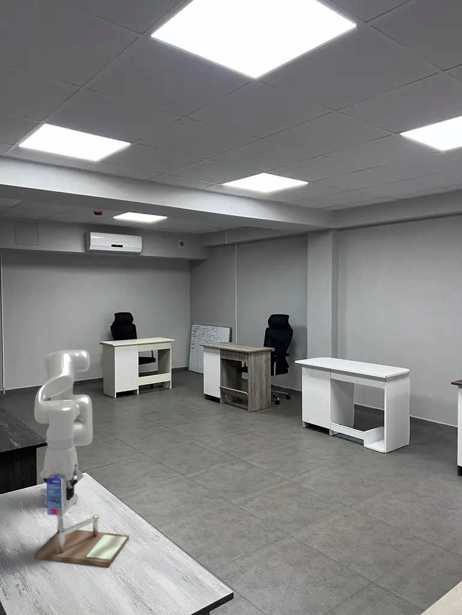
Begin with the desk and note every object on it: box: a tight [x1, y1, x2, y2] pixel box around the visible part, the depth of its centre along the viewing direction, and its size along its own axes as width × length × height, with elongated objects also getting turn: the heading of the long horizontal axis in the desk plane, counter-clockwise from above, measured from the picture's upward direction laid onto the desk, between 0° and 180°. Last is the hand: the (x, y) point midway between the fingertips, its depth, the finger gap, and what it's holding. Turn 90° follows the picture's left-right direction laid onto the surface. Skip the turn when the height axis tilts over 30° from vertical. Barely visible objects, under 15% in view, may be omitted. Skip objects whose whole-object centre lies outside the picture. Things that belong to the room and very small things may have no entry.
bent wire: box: [56, 514, 99, 553], centre depth 152 cm, size 15×13×7 cm
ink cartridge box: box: [46, 475, 76, 517], centre depth 151 cm, size 10×6×14 cm, turn 174°
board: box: [34, 527, 130, 568], centre depth 151 cm, size 25×16×2 cm, turn 81°
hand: (61, 497), depth 151 cm, fingers closed on ink cartridge box, 5 cm apart
